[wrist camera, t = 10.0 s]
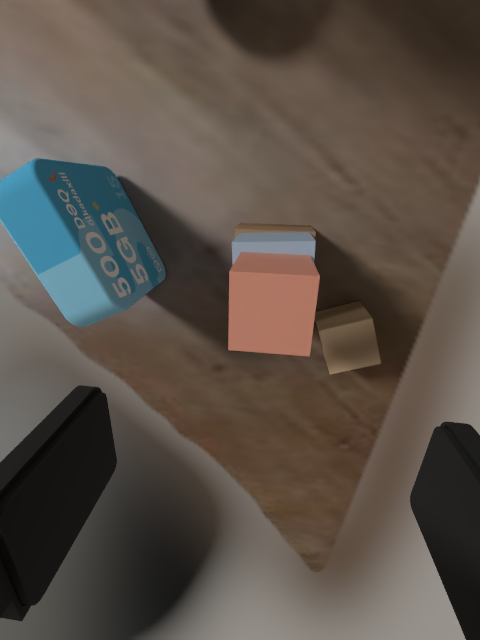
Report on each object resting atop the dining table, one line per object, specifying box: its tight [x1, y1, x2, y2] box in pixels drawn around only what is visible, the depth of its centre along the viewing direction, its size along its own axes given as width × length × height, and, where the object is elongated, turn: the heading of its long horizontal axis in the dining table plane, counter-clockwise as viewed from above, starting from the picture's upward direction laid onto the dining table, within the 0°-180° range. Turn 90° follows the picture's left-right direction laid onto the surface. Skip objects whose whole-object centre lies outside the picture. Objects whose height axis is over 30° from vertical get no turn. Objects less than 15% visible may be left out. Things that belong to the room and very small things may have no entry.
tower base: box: [234, 223, 316, 240], centre depth 31 cm, size 7×7×5 cm
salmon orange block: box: [228, 252, 320, 356], centre depth 21 cm, size 5×5×6 cm
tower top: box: [232, 232, 316, 264], centre depth 26 cm, size 6×6×5 cm
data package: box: [0, 158, 166, 327], centre depth 28 cm, size 12×4×12 cm, turn 24°
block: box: [315, 301, 381, 374], centre depth 33 cm, size 5×5×5 cm
